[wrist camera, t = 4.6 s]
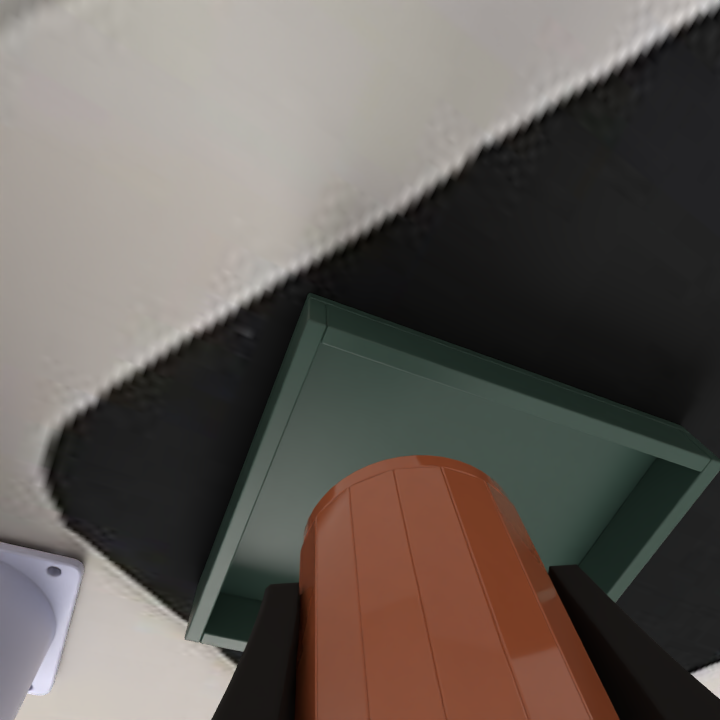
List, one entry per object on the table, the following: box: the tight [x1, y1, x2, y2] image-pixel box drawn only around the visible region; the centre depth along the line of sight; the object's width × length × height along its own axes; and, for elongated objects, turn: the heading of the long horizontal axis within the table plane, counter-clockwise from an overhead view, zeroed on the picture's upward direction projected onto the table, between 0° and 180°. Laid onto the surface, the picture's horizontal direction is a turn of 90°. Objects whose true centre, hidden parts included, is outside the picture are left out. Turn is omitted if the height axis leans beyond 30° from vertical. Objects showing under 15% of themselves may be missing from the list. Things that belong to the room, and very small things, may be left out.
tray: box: [185, 293, 720, 652], centre depth 21 cm, size 15×14×2 cm
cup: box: [294, 455, 620, 720], centre depth 11 cm, size 5×5×6 cm
